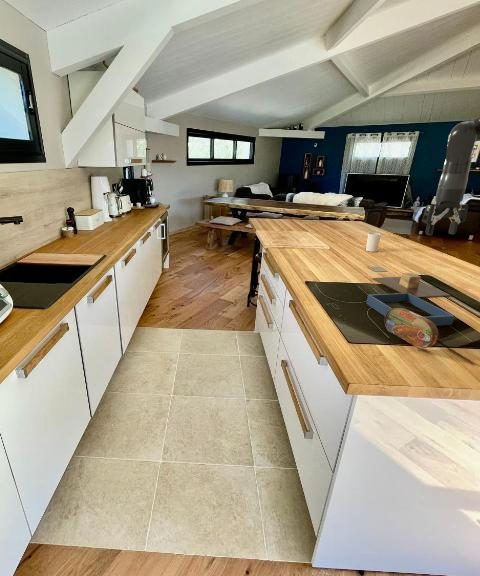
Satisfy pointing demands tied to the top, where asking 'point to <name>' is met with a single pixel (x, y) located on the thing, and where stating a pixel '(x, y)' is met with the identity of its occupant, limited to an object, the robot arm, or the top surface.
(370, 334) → the top surface
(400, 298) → the blue rectangular frame
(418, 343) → the tin
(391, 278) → the board
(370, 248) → the drinking glass
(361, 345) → the top surface
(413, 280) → the block
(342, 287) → the top surface
